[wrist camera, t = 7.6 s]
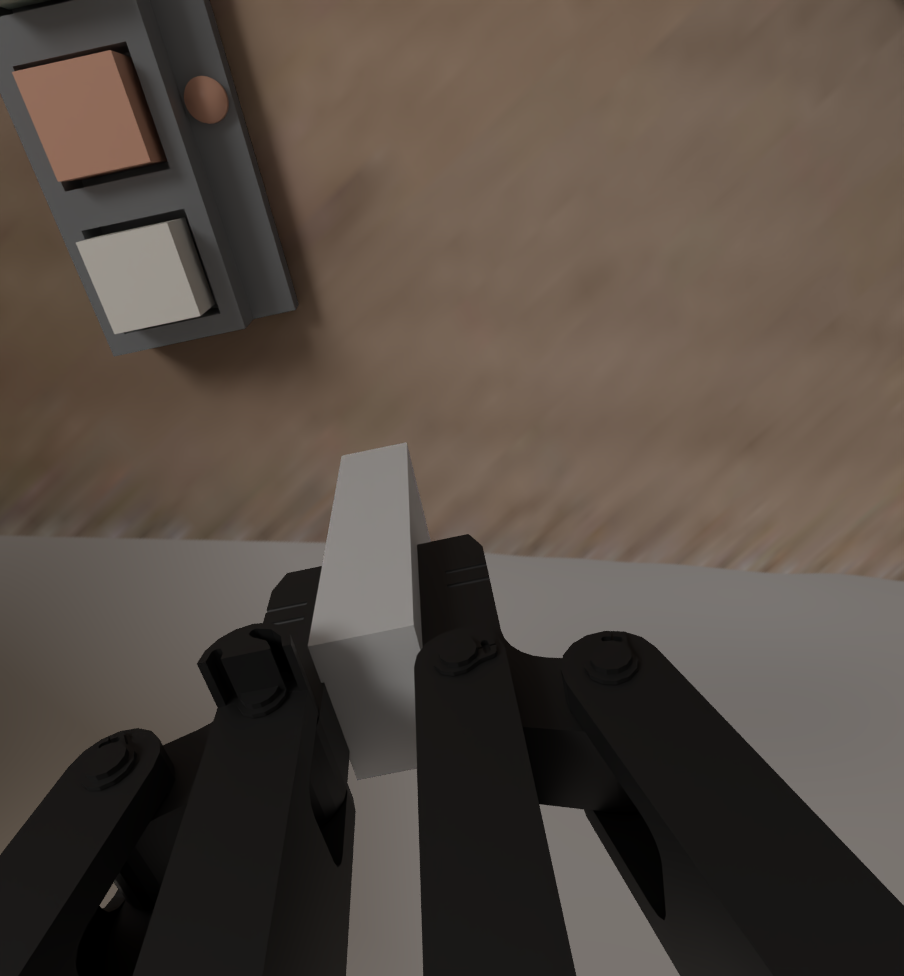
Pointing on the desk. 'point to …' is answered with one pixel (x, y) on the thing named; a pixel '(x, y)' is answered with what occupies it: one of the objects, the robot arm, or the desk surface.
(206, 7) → the key console
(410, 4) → the desk surface
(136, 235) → the ivory key
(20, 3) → the sage key
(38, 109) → the terracotta key
